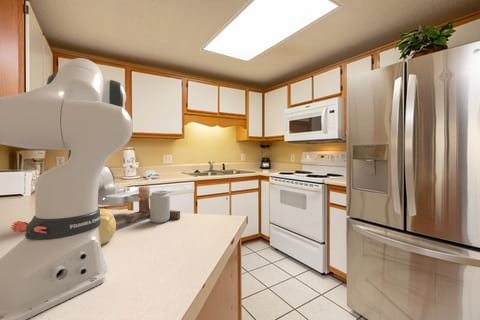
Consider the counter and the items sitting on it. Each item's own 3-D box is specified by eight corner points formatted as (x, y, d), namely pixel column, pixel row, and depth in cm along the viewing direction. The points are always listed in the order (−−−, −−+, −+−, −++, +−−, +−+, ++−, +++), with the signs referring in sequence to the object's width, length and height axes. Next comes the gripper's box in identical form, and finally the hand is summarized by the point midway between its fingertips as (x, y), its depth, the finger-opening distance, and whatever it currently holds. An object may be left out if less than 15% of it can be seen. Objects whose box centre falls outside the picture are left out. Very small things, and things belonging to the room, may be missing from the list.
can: (166, 223, 90) (165, 193, 89) (146, 223, 90) (146, 192, 90) (172, 218, 97) (172, 190, 97) (154, 218, 97) (154, 190, 97)
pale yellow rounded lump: (63, 253, 63) (62, 214, 63) (80, 238, 74) (80, 204, 74) (109, 249, 66) (109, 211, 66) (119, 235, 77) (119, 203, 77)
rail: (108, 233, 79) (108, 230, 79) (103, 232, 79) (103, 229, 79) (160, 213, 105) (160, 211, 105) (156, 213, 106) (156, 210, 106)
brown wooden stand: (159, 228, 84) (159, 192, 84) (123, 223, 89) (123, 189, 89) (180, 218, 97) (180, 187, 96) (147, 214, 102) (147, 185, 101)
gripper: (97, 192, 91) (125, 194, 86) (135, 185, 110) (159, 187, 106) (97, 208, 91) (125, 211, 87) (135, 198, 110) (160, 200, 106)
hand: (144, 197), depth 96 cm, fingers open, 4 cm apart
